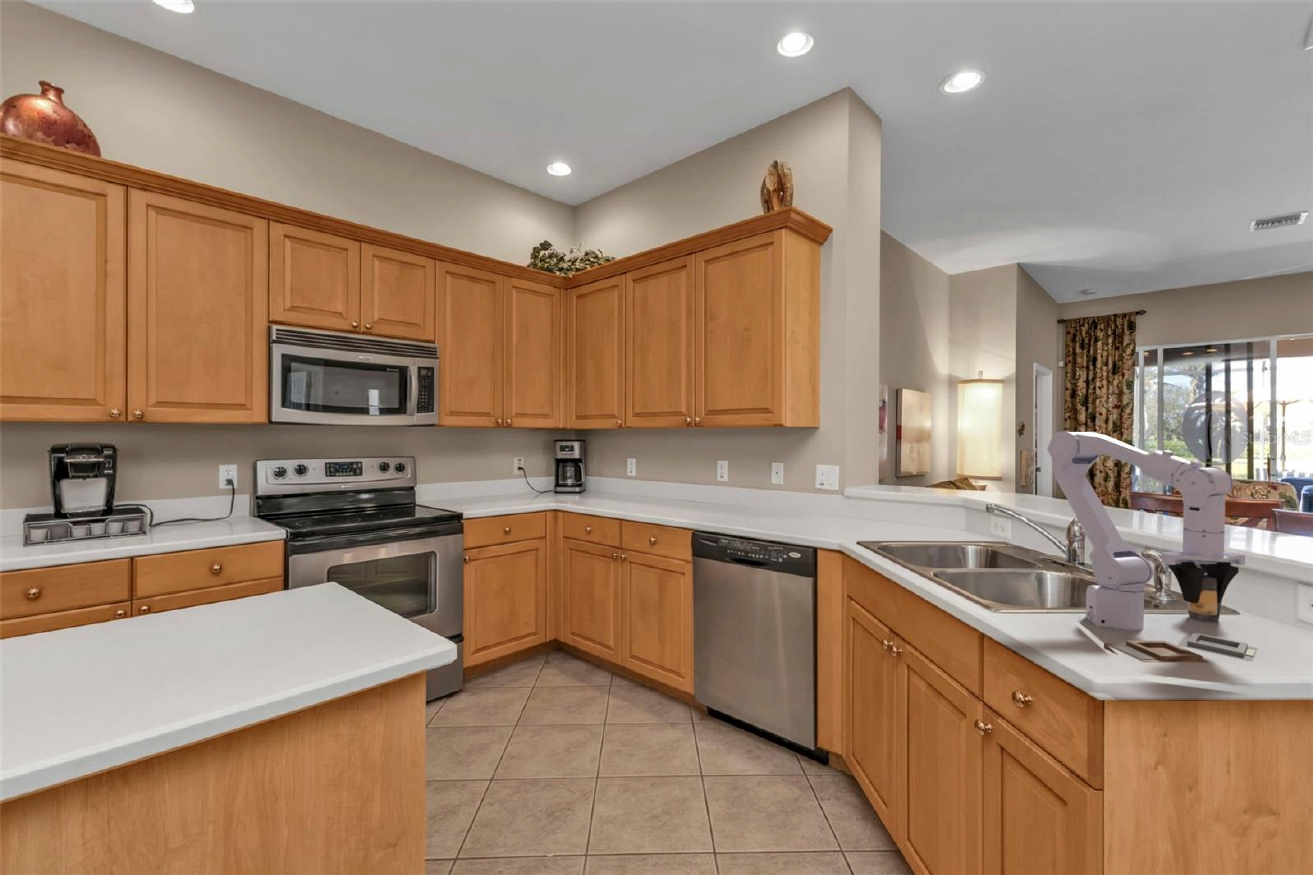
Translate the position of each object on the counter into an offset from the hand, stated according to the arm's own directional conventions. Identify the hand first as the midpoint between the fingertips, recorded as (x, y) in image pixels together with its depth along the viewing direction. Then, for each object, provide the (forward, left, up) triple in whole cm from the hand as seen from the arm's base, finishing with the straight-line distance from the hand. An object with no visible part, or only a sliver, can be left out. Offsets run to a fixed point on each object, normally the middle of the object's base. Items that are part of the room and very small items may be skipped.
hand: (1202, 601), depth 109 cm
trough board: (-9, -6, -10) cm, 15 cm away
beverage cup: (+11, +22, -10) cm, 27 cm away
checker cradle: (+4, +2, -10) cm, 11 cm away
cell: (0, 0, -2) cm, 2 cm away
